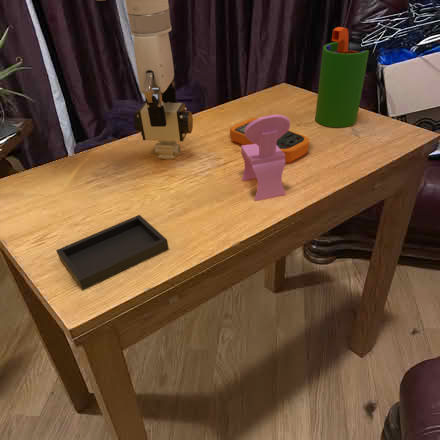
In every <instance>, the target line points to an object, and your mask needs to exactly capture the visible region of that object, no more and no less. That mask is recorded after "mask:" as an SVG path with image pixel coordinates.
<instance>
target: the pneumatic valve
mask: <svg viewBox="0 0 440 440" xmlns="http://www.w3.org/2000/svg"><path fill="white" fill-rule="evenodd" d="M162 106H164V111H165V117H166V126H165V127H152V126H151V124H150V119H149V113H148V108H147V105H146V102H143V103H142V104H141V106H140V107H139V109H136V110H135V111H134V112H133V113H134V114H133V127H134V129H135V131H136V133H140V136H141V137H142V141H155V144H154V153H155V154H156V155H157V158H158V159H159V160H172V161H173V160H175V159H176V158H177V157H176V156H180V154H181V145H180V143H178V142H184V140H185V139H186V136H187V135H188V134H189V135H190V134H192V133H193V128H194V119H193V113H192V111H190V110H187V107H186V103H185V102H177V103H170V102H167V103H164V102H163V101H162Z"/></svg>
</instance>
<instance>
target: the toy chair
mask: <svg viewBox="0 0 440 440" xmlns="http://www.w3.org/2000/svg"><path fill="white" fill-rule="evenodd" d="M290 127H291V120H290V119H289V117H287V116H285V115H282V114H269V115H264V116H261V117H259V118H258V119H256V120H254V121H252V122H251V123H249V124H248V125H247V126H246V128H245V135H246V137H247V139H248V140H250V141H251V142H252V143H255V144H250V145H241V146H240V154H241V157H242V159H243V161H244V169H243V174H242V177H241V181H242V182H245V181H250V180H255V179H256V181H257V188H256V193H255V197H254V201H255V202H258V201H262V200H267V199H273V198H277V197H282V196H286V195H287V193H286V190H285V188H284V185H283V179H282V177H283V172H284V169H285V166H286V162H285V154H284V153H283V152H282V151H281V150H280V149H279V147H278V146H277V145H276V143H277V140H278V139H279V138H280V137H281V136H282V135H284V134H285V133H286V132H287V131H288V130H289V131H290Z"/></svg>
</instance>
